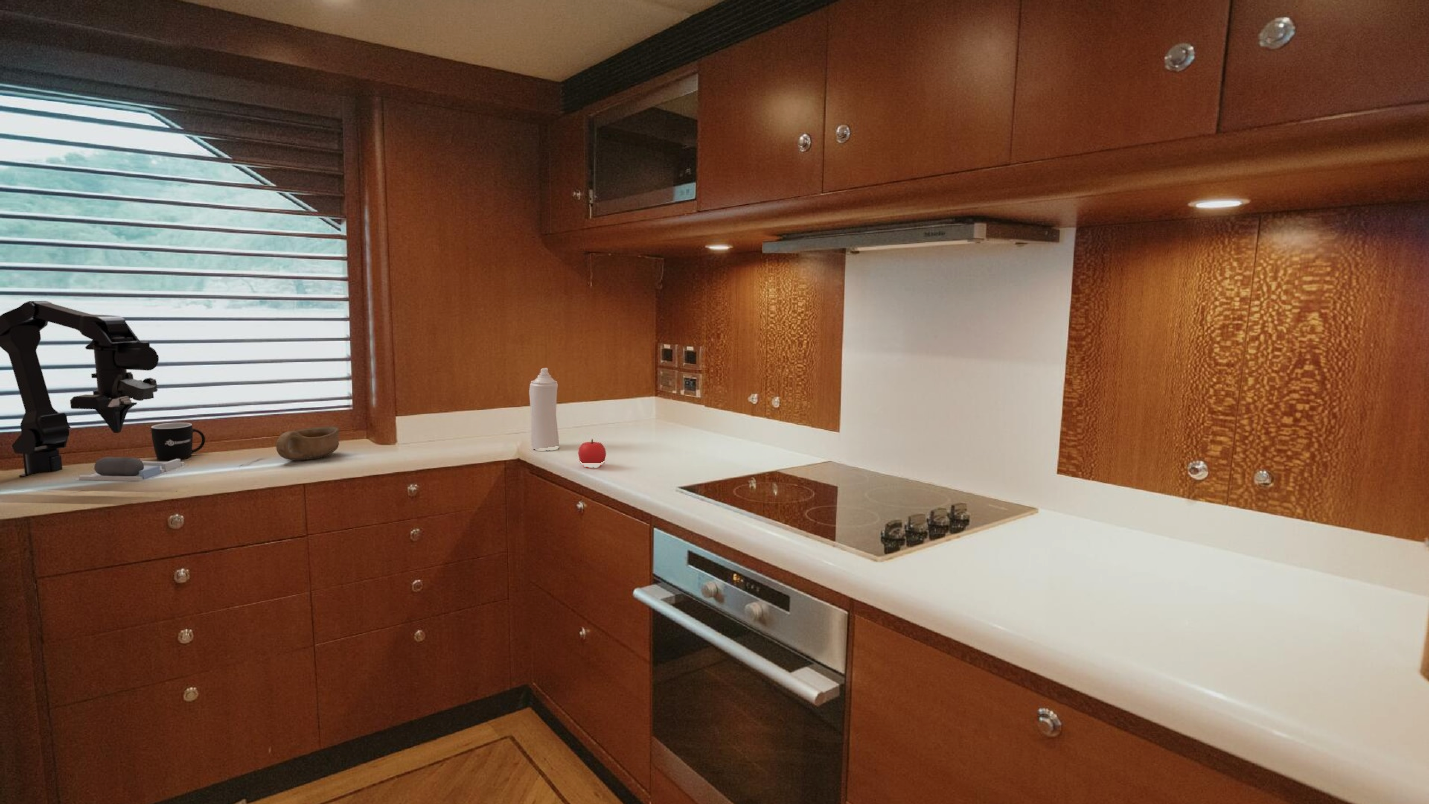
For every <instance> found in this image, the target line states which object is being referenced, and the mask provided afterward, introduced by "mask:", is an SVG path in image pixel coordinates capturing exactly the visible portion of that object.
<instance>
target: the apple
mask: <svg viewBox="0 0 1429 804" xmlns="http://www.w3.org/2000/svg"><path fill="white" fill-rule="evenodd" d="M577 453H578V460H579V462H580V461H581V462H582V463H601V462H603V461H605V460H606V457H607V456H606V455H607V452H606V448H605V446H604V445H603V443H601V442H597V441H594V438H591V441H587V442H583V443H582V444H581V445H580V446H579V447H578V452H577ZM605 462H606V461H605Z"/></svg>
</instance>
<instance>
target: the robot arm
mask: <svg viewBox="0 0 1429 804" xmlns="http://www.w3.org/2000/svg"><path fill="white" fill-rule="evenodd" d="M49 323H52V324H56V325H59V326H63V327H67V328H71V329H73V330H76V331H78V332H80V334H81V335H82V336H84V337H85V338H88V339H90V340H91V342H90V343H88V344H87V345H86V346H85V347H84V349H85V350H89V351H90V350H91V351H93V354H94V355H93V356H94V365H95V367H94V368H95V373H91V374H90V375H91V379H96V386H97V388H96V389H97V390H92V394H80V395H76V396H72V398H71V399H70V400H69V401H70V402H69V404H70V409H72V410H95V412H97V414H98V415H100V417H101V418H102V419H103V421H104V422H105V423H106V425H107V426H108V427H109V429H110V431H112V432H113V434H119V433H121V432H122V429H123V426H124V423H125V419H126V417H127V414H128V411H129V410H130V409H132V407H134V406H136V405H138V401H144V400H151V399H154V398H155V397H154V393H157V392H158V391H159V390H158V384H157V379H155V378H153V377H148V378H144V379H143V380H142V379H135V378H134V375H133V373H132V370H133V371H151V370H154V369H155V368H156V367H157V366H158V363H159V360H160V359H159V355H158V352H157V351H156V350H155V349H154V348H153V347H152V346H150V342H149V341H140V339H139V338H138V336H137V335H136V334H135V332H134V330H132V328H131V327H130V325H128V323H127V321H126V319H125V318H124V317H123V316H120V315H109V314H94V313H93V314H91V313H88V312H83V311H80V310H76V309H73V308H70V307H66V306H62V305H58V304H55V303H52V302H50V301H48V300H31V301H30V300H29V301H26V302H24V303H22V304H21V305H19V306H18V307H16V308H14V309H13V308H12V309H11V310H9V311H6V312H4V313H2V314H0V348H1V349H2V350H3V351H5V352H6V353H7V355H8V357H9V361H10V363H11V367H12V370H13V374H14V377H15V378H14V379H15V381H16V385H17V387H18V391H19V395H20V398H21V400H22V404H23V409H24V411H25V412H24V414H23V417H22V419H21V422H20V423H19V424H20V431H21V432H20V435H19V436H18V437H17V438H16V439H15V441H14V442H13V443H12V444H11V447H12V449H13V453H14V454H17V455H18V454H19V455H22V459H23V460H22V462H23V470H24V471H23V472H24V473H21V474H18V477H19V478H27V477H30V476H35V475H36V474H42V473H54V472H55V473H56V472H58V471H62V470H63V461H62V455H60V449H64V448H66V447H67V443H68V439H69V436H70V429H71V428H72V427H71V426H70V425H69V422H68V417H67V414H66V413H65V412H58V411H57V410H56V409H55V408H54V407H53V405H52V401H51V397H50V394H49V391H48V387H47V385H46V380H45V378H44V374H43V370H42V367H41V364H40V363H41V362H40V360H39V357H38V353H37V349H38V347H39V344H40V342H41V340H42V337H41V331H42V330H43V329H45V327H47V326H48V325H49ZM127 370H130V371H127ZM132 399H133V400H134V401H137V402H132Z"/></svg>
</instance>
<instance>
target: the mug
mask: <svg viewBox="0 0 1429 804" xmlns="http://www.w3.org/2000/svg"><path fill="white" fill-rule="evenodd" d="M150 432H151V433H150V435H151V440H152V445H153V449H154V454H155V456H156V457H155V458H156V459H157V460H158V462H168V461H171V460H175V459H180V461H182V460H183V461H184V460H187V459H190V458H191V456H192V455H193V453H196V452H198V451H200V450H201V449H202V448H203V447H204V446H205V443H206V437H205V435H204V433H203V432H202V431H201V430H199V429H197V428H193V424H192V423H190V422H167V423H160V424H159V423H158V424H155V425H152V426H151V427H150ZM194 433H198V435H200V437H201V442H200V444H199V446H197V447H195V448H194V449H193V444H194V443H193V442H194V441H193V440H194V439H193V437H194Z"/></svg>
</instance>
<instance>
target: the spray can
mask: <svg viewBox="0 0 1429 804" xmlns="http://www.w3.org/2000/svg"><path fill="white" fill-rule="evenodd" d="M558 387H559V385H558V381H557V380H555V379H554V378H553V377H552V375H551V374H550V373H549V368H548V367H543V368H541V369H540V372H539V374H538V375H537V377H536V378H535V379H534V380H530V383H529V390H528V395H529V408H530V444H531V445H530V446H531V450H532V449H539V448H548V447H555V446H559V447H560V440H559V437H560V436H559V431H558V430H559V429H558V422H557V421H558V420H557V419H558V418H557V401H558V399H557V397H558Z"/></svg>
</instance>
